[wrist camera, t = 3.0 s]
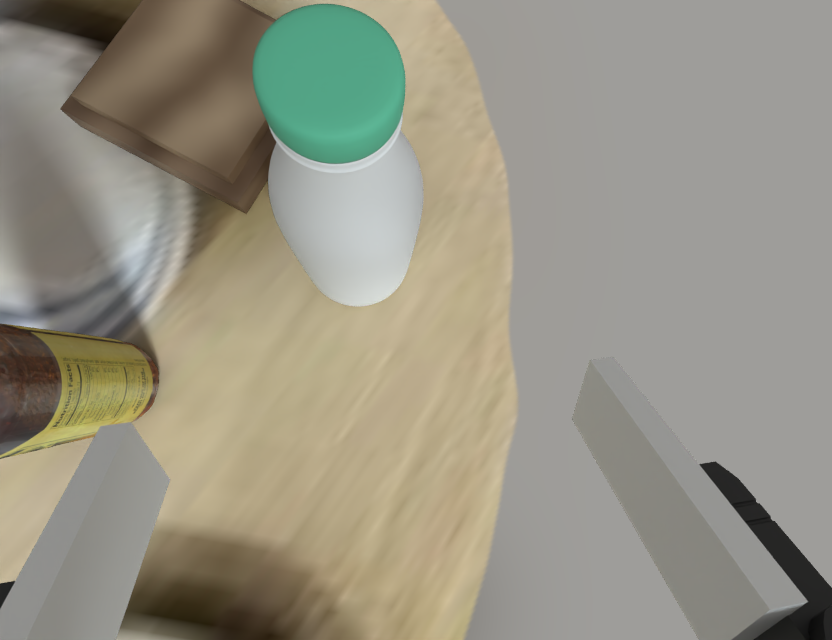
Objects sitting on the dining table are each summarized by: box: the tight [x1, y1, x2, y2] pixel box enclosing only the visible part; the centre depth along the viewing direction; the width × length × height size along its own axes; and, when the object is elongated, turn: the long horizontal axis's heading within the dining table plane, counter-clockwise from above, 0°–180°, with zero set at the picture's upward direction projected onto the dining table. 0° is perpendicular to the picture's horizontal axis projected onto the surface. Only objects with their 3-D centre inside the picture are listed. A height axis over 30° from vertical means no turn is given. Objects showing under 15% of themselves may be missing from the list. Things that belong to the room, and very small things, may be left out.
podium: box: [61, 0, 276, 214], centre depth 31 cm, size 14×14×3 cm
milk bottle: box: [252, 4, 423, 306], centre depth 22 cm, size 8×8×20 cm
